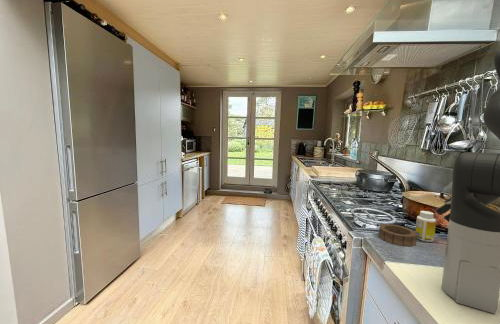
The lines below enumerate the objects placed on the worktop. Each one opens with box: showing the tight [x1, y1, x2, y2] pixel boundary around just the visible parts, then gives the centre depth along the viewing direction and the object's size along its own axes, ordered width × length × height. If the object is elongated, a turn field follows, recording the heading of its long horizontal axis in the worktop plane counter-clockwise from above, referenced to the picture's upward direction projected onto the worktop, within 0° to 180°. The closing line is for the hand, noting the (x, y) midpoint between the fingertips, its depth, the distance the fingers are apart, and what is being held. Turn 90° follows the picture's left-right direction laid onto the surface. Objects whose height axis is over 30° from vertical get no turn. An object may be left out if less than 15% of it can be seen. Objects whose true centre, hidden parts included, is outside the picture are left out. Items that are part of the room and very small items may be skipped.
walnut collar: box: [378, 223, 417, 247], centre depth 81 cm, size 11×11×4 cm
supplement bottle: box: [415, 210, 437, 243], centre depth 82 cm, size 6×6×10 cm
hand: (441, 216), depth 80 cm, fingers open, 8 cm apart
